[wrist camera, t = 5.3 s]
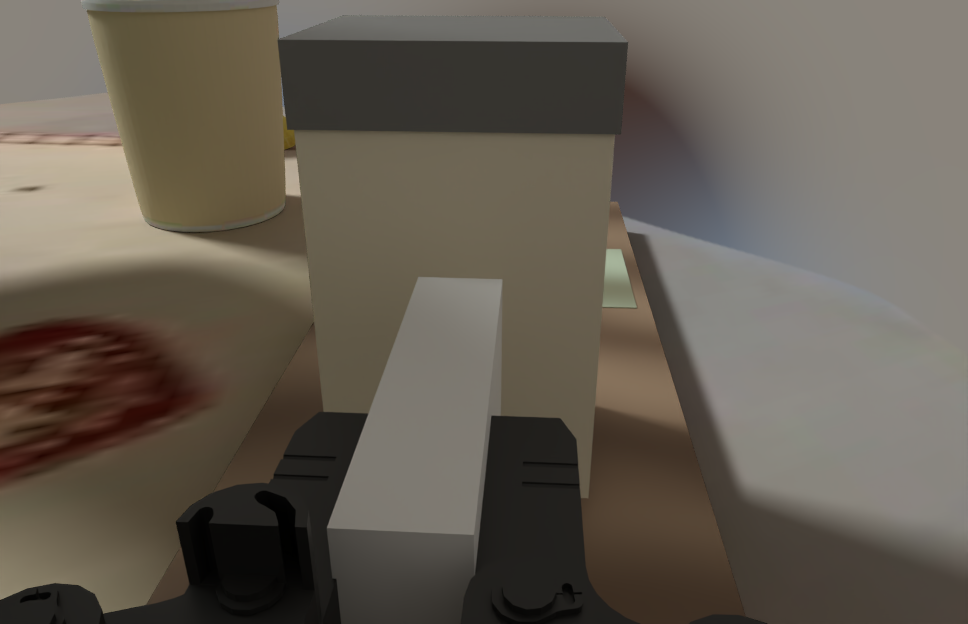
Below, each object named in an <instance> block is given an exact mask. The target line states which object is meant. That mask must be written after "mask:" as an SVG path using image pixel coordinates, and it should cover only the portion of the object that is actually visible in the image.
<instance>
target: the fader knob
mask: <svg viewBox="0 0 968 624" xmlns="http://www.w3.org/2000/svg"><path fill="white" fill-rule="evenodd" d="M277 41H278V50H279V59H280V68H281V78H282V86H283V96H284V105H285V114H286V124H287V130H294V134H295V144H296V153H297V163H298V172H299V182H300V191H301V201H302V210H303V220H304V230H305V239H306V249H307V258H308V268H309V277H310V287H311V296H312V306H313V316H314V325H315V335H316V344H317V354H318V363H319V373H320V382H321V392H322V401H323V411H324V412H343V413H369V411H370V408H371V406H372V403H373V400H374V397H375V395H376V392H377V389H378V386H379V384H380V381H381V378H382V375H383V373H384V370H385V367H386V364H387V362H388V359H389V356H390V353H391V351H392V348H393V345H394V343H395V340H396V337H397V334H398V332H399V329H400V326H401V323H402V321H403V318H404V315H405V312H406V310H407V307H408V304H409V301H410V299H411V296H412V293H413V290H414V288H415V285H416V282H417V280H418V277H439V278H477V279H503V283H502V369H501V416H518V417H546V418H561V419H562V421H563V422H564V423H565V425H566V426H567V427H568V429H569V430H570V431H571V433H572V434H573V435H574V437H575V438H576V440H577V453H578V469H579V480H580V494H581V498H588V496H589V483H590V469H591V455H592V442H593V428H594V414H595V400H596V387H597V373H598V359H599V345H600V332H601V318H602V304H603V291H604V277H605V263H606V249H607V236H608V222H609V208H610V194H611V181H612V180H611V179H612V167H613V152H614V140H615V134H621V127H622V115H623V100H624V88H625V75H626V61H627V49H628V42H627V41H626V40H625V38H624V37H622V35H621V34H620V33H619V32H618V31H617V30H616V29H615V28H614V26H612V24H611V23H610V22H609V21H608V20H607V19H606V18H605V17H541V16H537V17H535V16H529V17H528V16H362V15H360V16H357V15H353V16H352V15H351V16H350V15H343V16H340V17H338V18H335V19H332V20H330V21H327V22H324V23H321V24H319V25H316V26H313V27H310V28H308V29H305V30H302V31H300V32H297V33H294V34H292V35H289V36H286V37H283V38H280V39H278V40H277Z"/></svg>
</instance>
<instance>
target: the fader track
mask: <svg viewBox="0 0 968 624" xmlns="http://www.w3.org/2000/svg"><path fill="white" fill-rule="evenodd" d="M318 412H324V411H323V401H322V392H321V382H320V373H319V363H318V354H317V344H316V335H315V325H314V323H313V324H312V326H311V328H310V329H309V331H308V333H307V334H306V336H305V338H304V339H303V341H302V343H301V344H300V346H299V348H298V350H297V351H296V353H295V355H294V356H293V358H292V360H291V361H290V363H289V365H288V366H287V368H286V370H285V371H284V373H283V375H282V377H281V378H280V380H279V382H278V383H277V385H276V387H275V388H274V390H273V392H272V393H271V395H270V397H269V398H268V400H267V402H266V404H265V405H264V407H263V409H262V410H261V412H260V414H259V415H258V417H257V419H256V420H255V422H254V424H253V425H252V427H251V429H250V431H249V432H248V434H247V436H246V437H245V439H244V441H243V442H242V444H241V446H240V447H239V449H238V451H237V452H236V454H235V456H234V458H233V459H232V461H231V463H230V464H229V466H228V468H227V469H226V471H225V473H224V474H223V476H222V478H221V479H220V481H219V483H218V485H217V486H216V488H215V490H214V491H213V492H216V491H219V490H222V489H225V488H228V487H232V486H235V485H239V484H251V483H268V484H269V482H270V480H271V479H273V477H274V472H275V470H276V468H277V466H278V464H279V462H280V460H281V459H283V454H284V452H285V450H286V448H287V446H288V444H289V442H290V440H291V438H292V436H293V434H294V432H295V431H296V430H297V429H298V428H300V427H301V426H302V425H303V424H304V423H306V422H307V421H308V420H309V419H311V418H312V417H313V416H314V415H316V414H317V413H318ZM581 508H582V521H583V535H584V549H585V562H586V569H587V573H588V578H589V581H590V582H591V584H592V586H593V588H594V589H595V591H596V593H597V594H598V595H599V596H600V597H601V598H602V599H603V600H604V601H605V602H606V603H607V604H608V605H609V607H611V608H612V609H614V610H615V611H617V612H618V613H620V614H621V615H623V616H624V617H626V618H628V619H631V620H633V621H635V622H638V623H640V624H689V623H690V622H691V621H694V620H697V619H700V618H703V617H706V616H709V615H712V614H723V615H741V616H745V613H744V609H743V606H742V603H741V600H740V596H739V593H738V590H737V587H736V583H735V580H734V577H733V574H732V571H731V567H730V564H729V561H728V558H727V554H726V551H725V548H724V545H723V541H722V538H721V535H720V532H719V528H718V525H717V522H716V519H715V516H714V512H713V509H712V506H711V503H710V499H709V496H708V493H707V490H706V486H705V483H704V480H703V477H702V473H701V470H700V467H699V464H698V461H697V457H696V454H695V451H694V448H693V444H692V441H691V438H690V435H689V431H688V428H687V425H686V422H685V418H684V415H683V412H682V409H681V406H680V402H679V399H678V396H677V393H676V389H675V386H674V383H673V380H672V376H671V373H670V370H669V367H668V363H667V360H666V357H665V354H664V351H663V347H662V344H661V341H660V338H659V334H658V331H657V328H656V325H655V321H654V318H653V315H652V312H651V308H650V305H649V302H648V299H647V295H646V292H645V289H644V286H643V283H642V279H641V276H640V273H639V270H638V266H637V263H636V260H635V257H634V253H633V250H632V247H631V244H630V240H629V237H628V234H627V231H626V228H625V224H624V221H623V218H622V215H621V212H620V208H619V205H618V202H610V208H609V222H608V236H607V249H606V263H605V277H604V291H603V304H602V318H601V332H600V345H599V359H598V373H597V387H596V400H595V414H594V428H593V442H592V455H591V469H590V483H589V496H588V498H581ZM188 586H189V580H188V576H187V571H186V566H185V562H184V557H183V553H182V548H181V547H180V549H179V550H178V552H177V554H176V555H175V557H174V559H173V560H172V562H171V564H170V565H169V567H168V569H167V571H166V572H165V574H164V576H163V577H162V579H161V581H160V582H159V584H158V586H157V587H156V589H155V591H154V592H153V594H152V596H151V598H150V599H149V601H148V603H147V604H146V605H149V604H154V603H158V602H162V601H165V600H169V599H172V598H176V597H178V596H181V595H183V594H184V593H185V591H186V590H187V588H188ZM745 617H746V616H745Z"/></svg>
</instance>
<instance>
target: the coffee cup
mask: <svg viewBox="0 0 968 624" xmlns="http://www.w3.org/2000/svg"><path fill="white" fill-rule="evenodd" d="M81 3H82V6H83V8H84V9H87V13H88V18H89V22H90V26H91V30H92V34H93V38H94V42H95V46H96V50H97V54H98V57H99V61H100V64H101V68H102V72H103V76H104V79H105V83H106V87H107V91H108V94H109V98H110V102H111V105H112V109H113V113H114V116H115V120H116V124H117V127H118V131H119V134H120V138H121V142H122V145H123V149H124V152H125V156H126V160H127V163H128V167H129V170H130V174H131V178H132V181H133V185H134V188H135V192H136V195H137V199H138V202H139V205H140V209H141V212H142V215H143V217H144V219H145V221H146V222H147V223H148V224H150V225H152V226H154V227H157V228H160V229H164V230H170V231H180V232H210V231H222V230H229V229H234V228H240V227H245V226H249V225H253V224H257V223H260V222H263V221H265V220H268V219H270V218H272V217H274V216H276V215H277V214H279V213H280V212H281V211H282V210H283V209H284V207H285V202H286V193H285V158H284V134H283V110H282V88H281V68H280V59H279V50H278V41H277V40H278V39H279V31H278V15H277V7H276V5H278V4H279V0H81Z"/></svg>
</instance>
